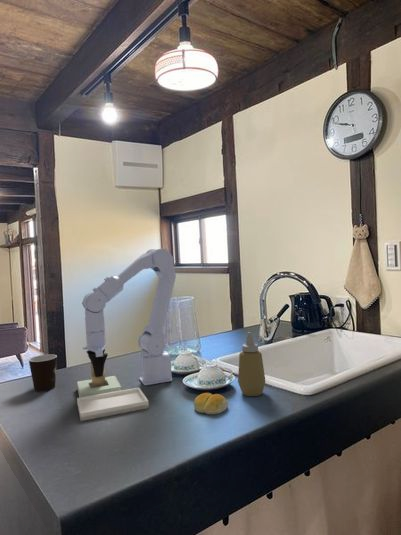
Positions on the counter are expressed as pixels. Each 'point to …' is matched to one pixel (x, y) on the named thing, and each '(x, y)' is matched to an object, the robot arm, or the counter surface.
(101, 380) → the oak pin
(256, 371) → the squeeze bottle
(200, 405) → the bread roll
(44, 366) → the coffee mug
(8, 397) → the counter surface
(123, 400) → the tray
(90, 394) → the pin holder
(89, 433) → the counter surface
